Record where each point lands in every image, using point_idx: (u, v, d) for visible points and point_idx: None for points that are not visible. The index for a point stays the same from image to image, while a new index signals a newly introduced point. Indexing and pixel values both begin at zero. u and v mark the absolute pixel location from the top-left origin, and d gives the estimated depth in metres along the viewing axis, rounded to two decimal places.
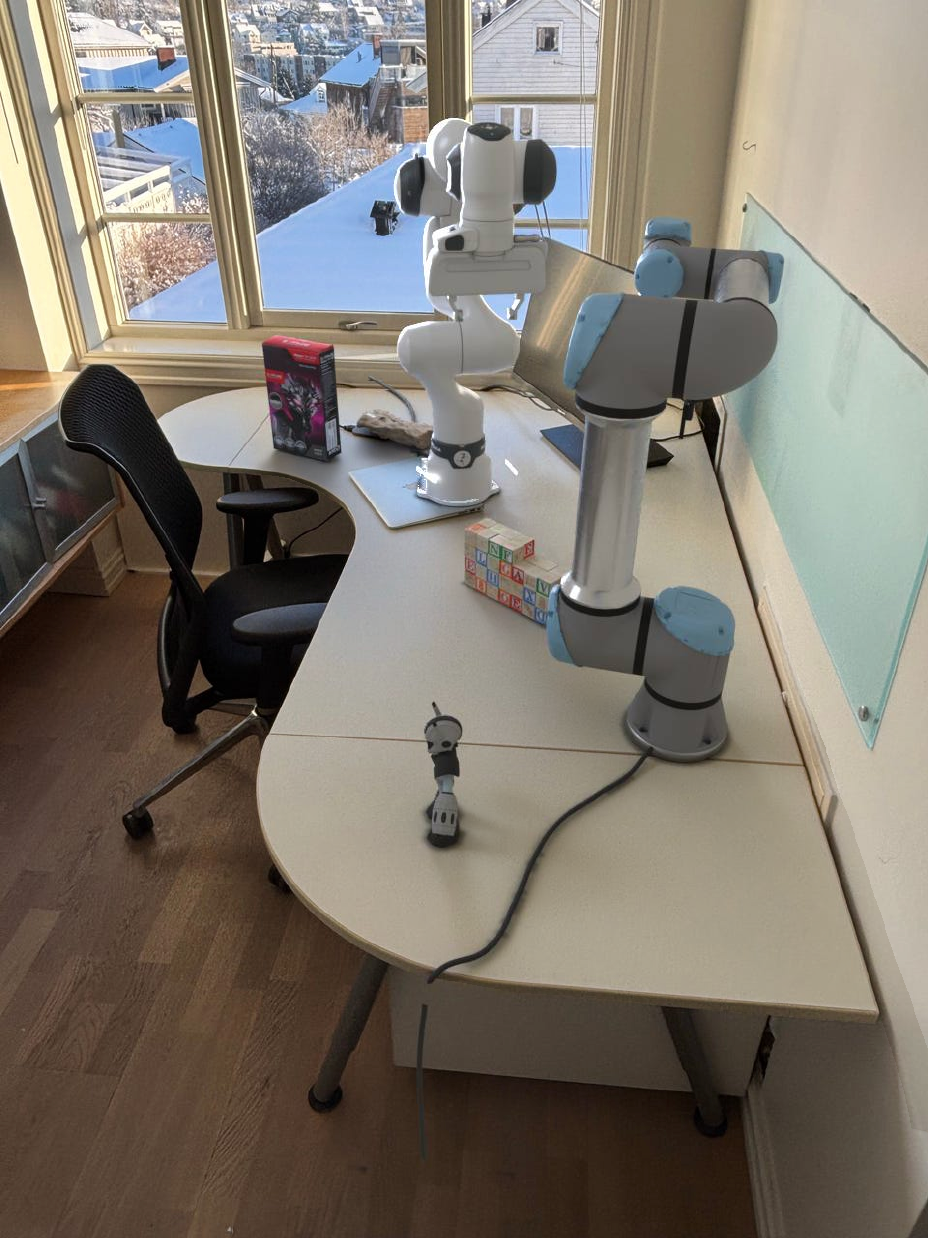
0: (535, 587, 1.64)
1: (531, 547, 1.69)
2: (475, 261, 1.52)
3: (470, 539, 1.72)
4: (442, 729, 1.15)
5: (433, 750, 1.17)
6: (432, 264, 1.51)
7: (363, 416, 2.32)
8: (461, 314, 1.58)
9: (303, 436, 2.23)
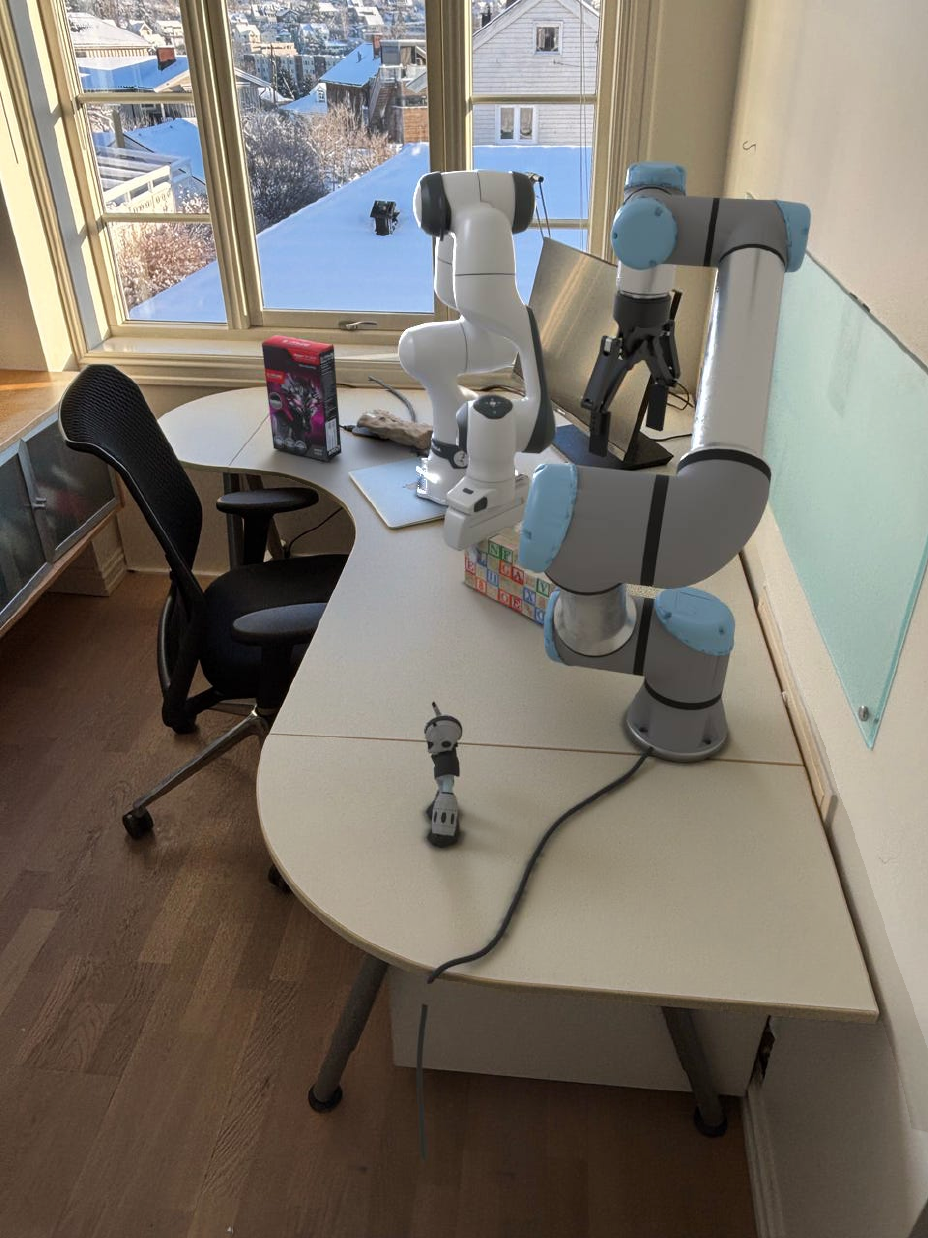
0: (535, 587, 1.64)
1: None
2: (488, 512, 1.67)
3: None
4: (442, 729, 1.15)
5: (433, 750, 1.17)
6: (462, 526, 1.62)
7: (363, 416, 2.32)
8: (480, 554, 1.71)
9: (303, 436, 2.23)
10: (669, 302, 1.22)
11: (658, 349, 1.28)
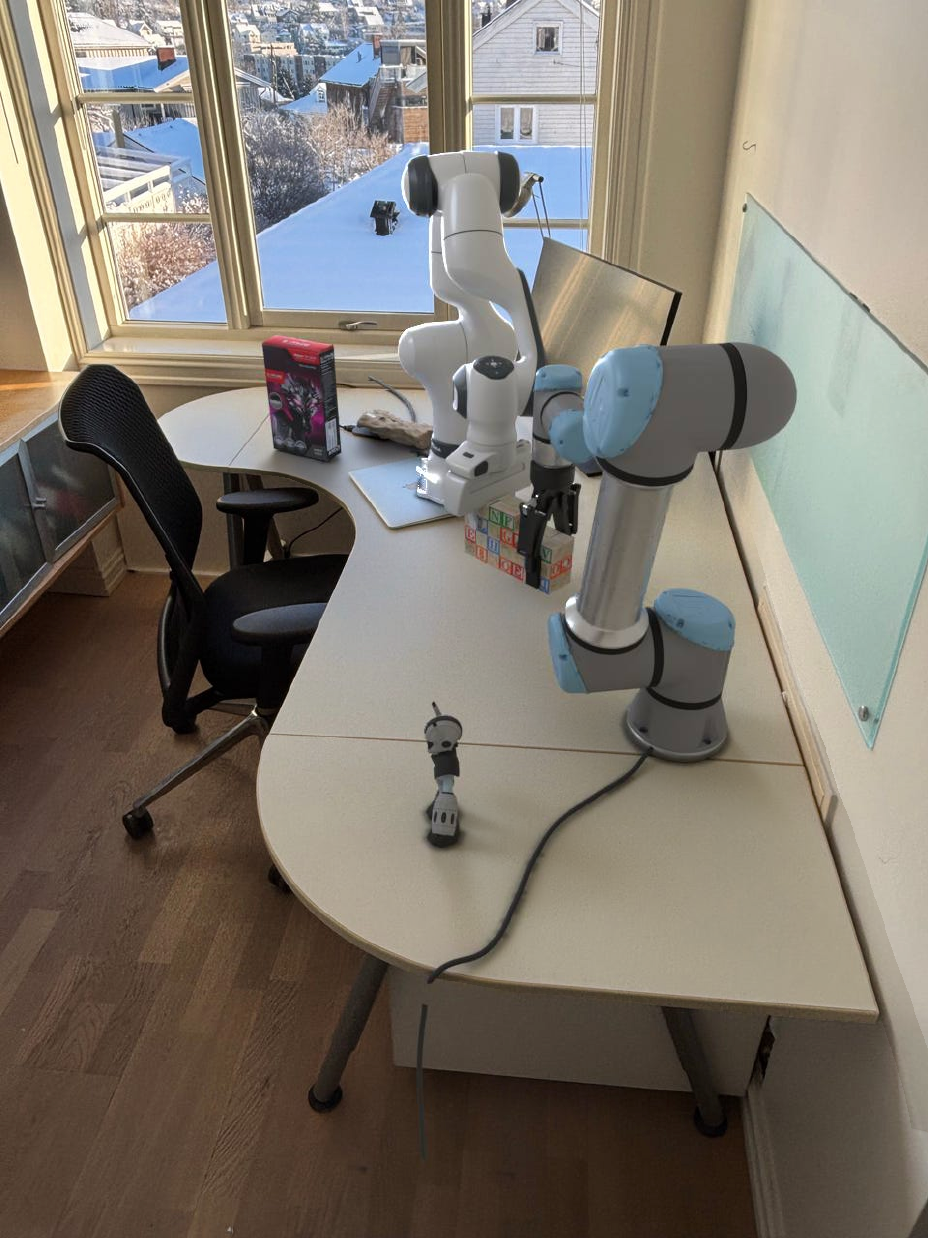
0: None
1: None
2: (489, 477, 1.63)
3: None
4: (442, 729, 1.15)
5: (433, 750, 1.17)
6: (462, 491, 1.58)
7: (363, 416, 2.32)
8: (480, 521, 1.68)
9: (303, 436, 2.23)
10: (573, 470, 1.52)
11: (565, 505, 1.58)
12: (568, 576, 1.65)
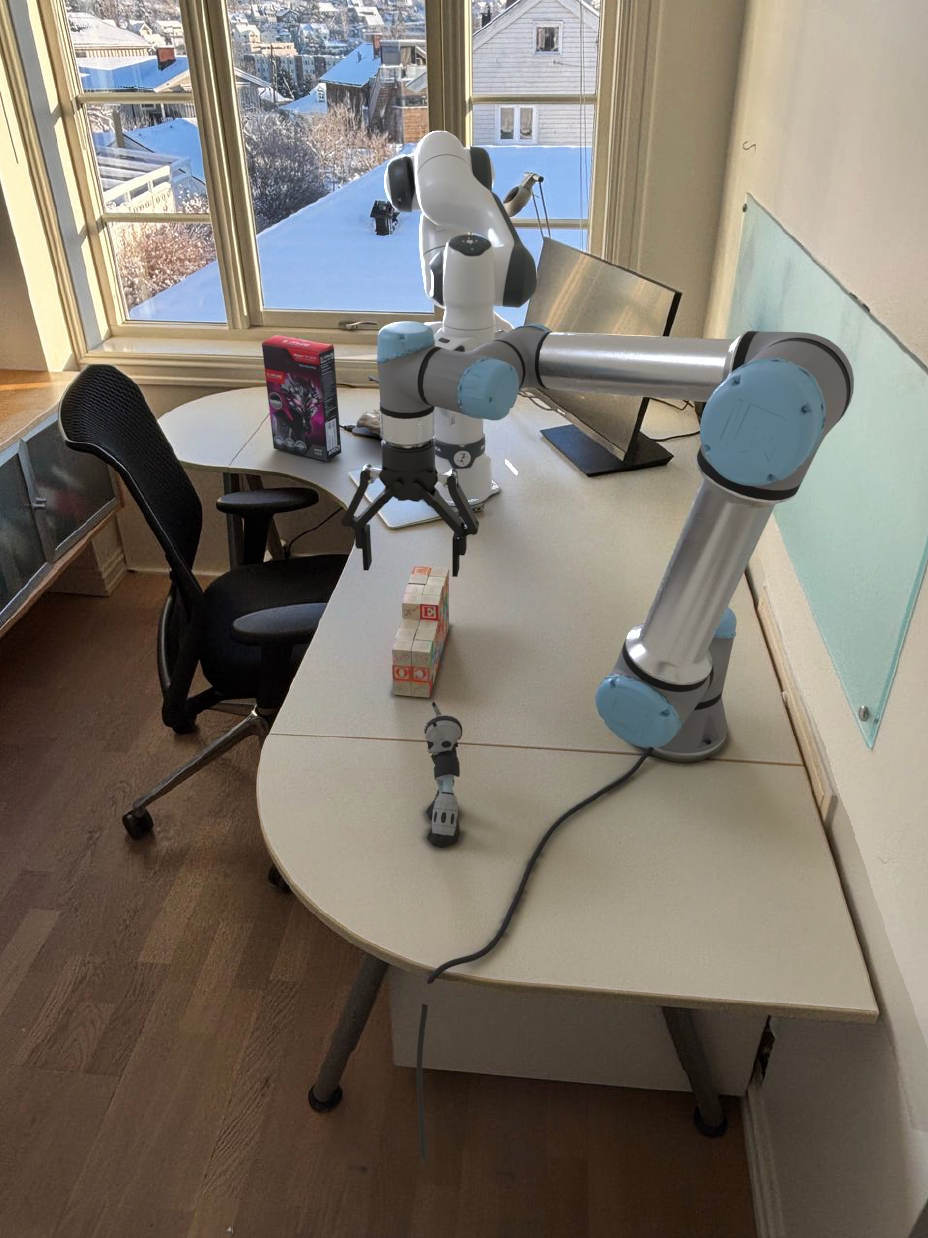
0: None
1: (434, 612, 1.51)
2: None
3: None
4: (442, 729, 1.15)
5: (433, 750, 1.17)
6: None
7: (363, 416, 2.32)
8: (454, 417, 1.60)
9: (303, 436, 2.23)
10: (410, 455, 1.26)
11: (425, 496, 1.31)
12: (425, 689, 1.48)
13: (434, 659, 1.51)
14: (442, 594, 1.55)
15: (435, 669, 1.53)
